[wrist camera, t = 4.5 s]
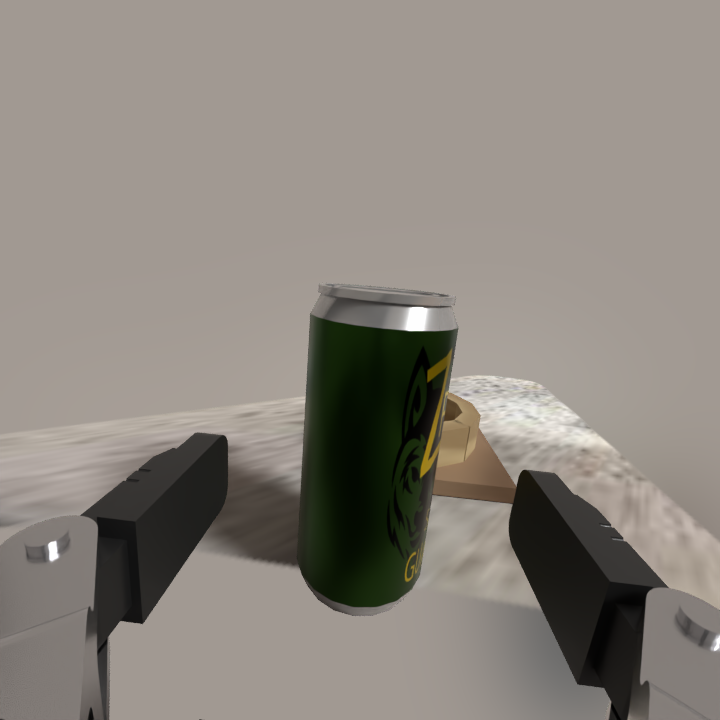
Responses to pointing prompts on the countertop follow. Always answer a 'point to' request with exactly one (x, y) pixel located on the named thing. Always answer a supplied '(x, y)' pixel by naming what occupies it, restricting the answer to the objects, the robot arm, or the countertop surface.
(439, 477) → the socket board
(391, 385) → the beer can
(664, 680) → the robot arm
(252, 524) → the countertop surface
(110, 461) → the countertop surface
